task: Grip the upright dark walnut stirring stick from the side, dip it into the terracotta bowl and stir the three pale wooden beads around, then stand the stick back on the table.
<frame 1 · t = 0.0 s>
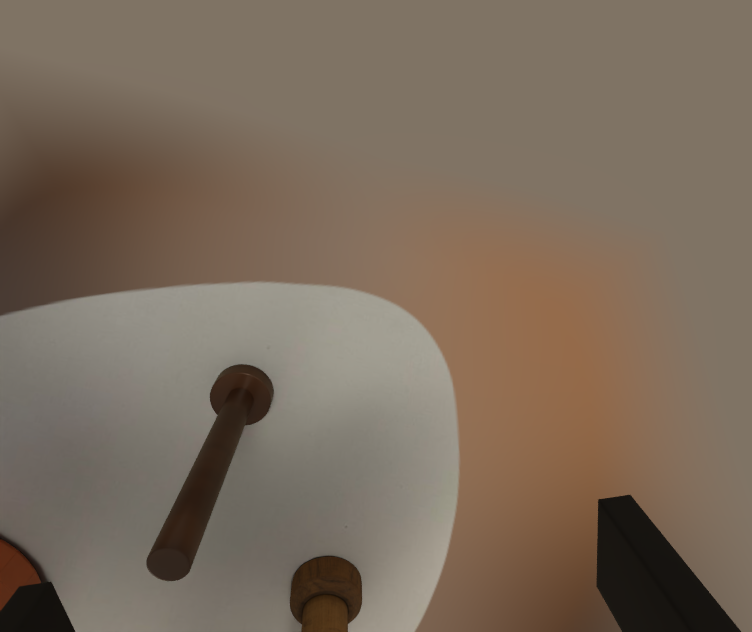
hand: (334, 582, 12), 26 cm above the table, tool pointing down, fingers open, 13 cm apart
stick: (244, 390, 38), on the table
mortar and pestle: (327, 581, 45), on the table
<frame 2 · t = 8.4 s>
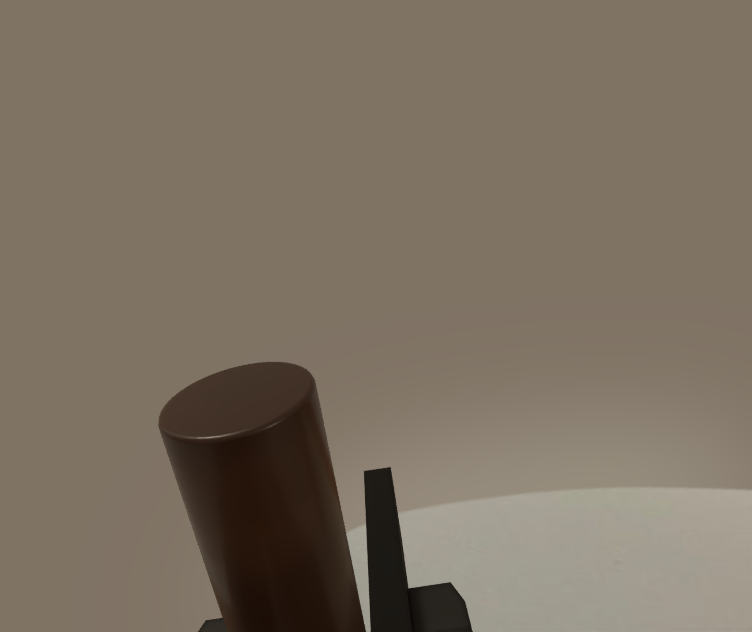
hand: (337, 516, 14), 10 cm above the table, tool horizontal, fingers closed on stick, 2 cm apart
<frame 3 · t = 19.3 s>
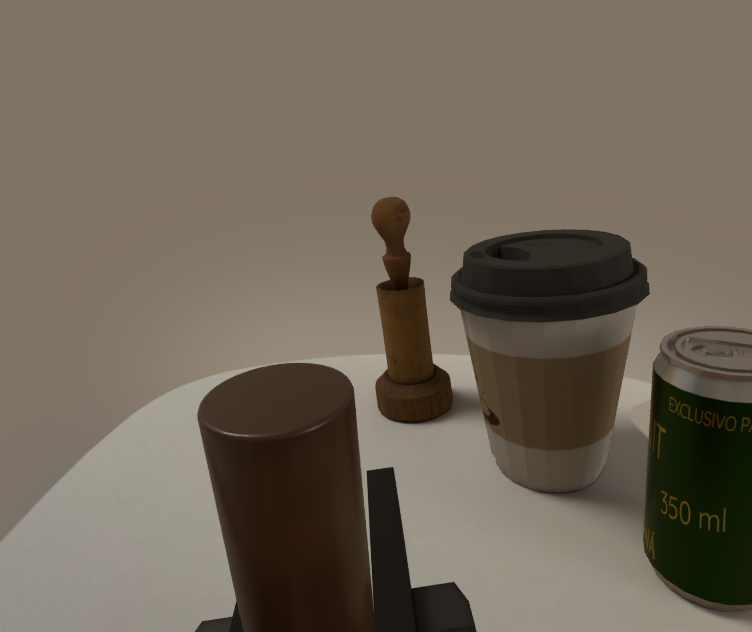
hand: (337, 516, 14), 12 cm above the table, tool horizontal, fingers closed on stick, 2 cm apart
coffee cup: (547, 460, 33), on the table
soda can: (703, 570, 24), on the table
mortar and pestle: (415, 405, 43), on the table
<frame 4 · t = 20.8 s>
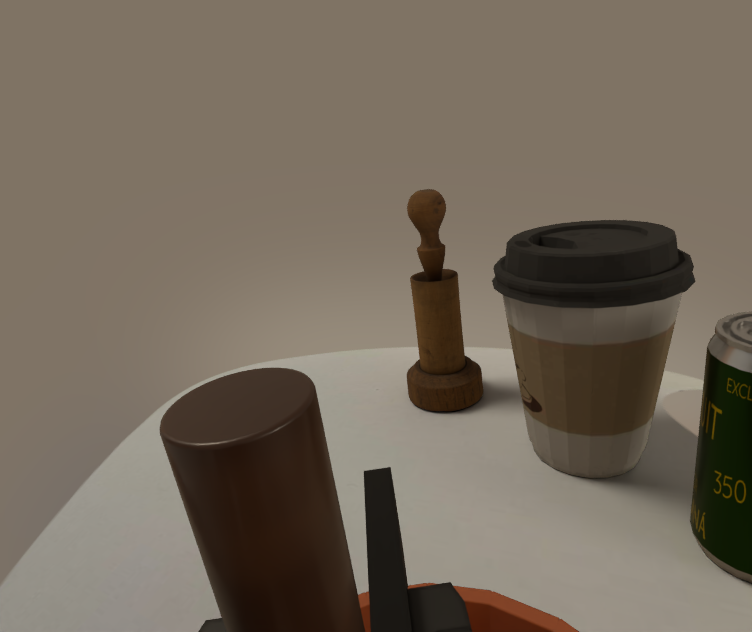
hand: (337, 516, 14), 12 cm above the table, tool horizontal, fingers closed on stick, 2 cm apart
coffee cup: (584, 447, 34), on the table
soda can: (751, 550, 25), on the table
mortar and pestle: (445, 395, 43), on the table
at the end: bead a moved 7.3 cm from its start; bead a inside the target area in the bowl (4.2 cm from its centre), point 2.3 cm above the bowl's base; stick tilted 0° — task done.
